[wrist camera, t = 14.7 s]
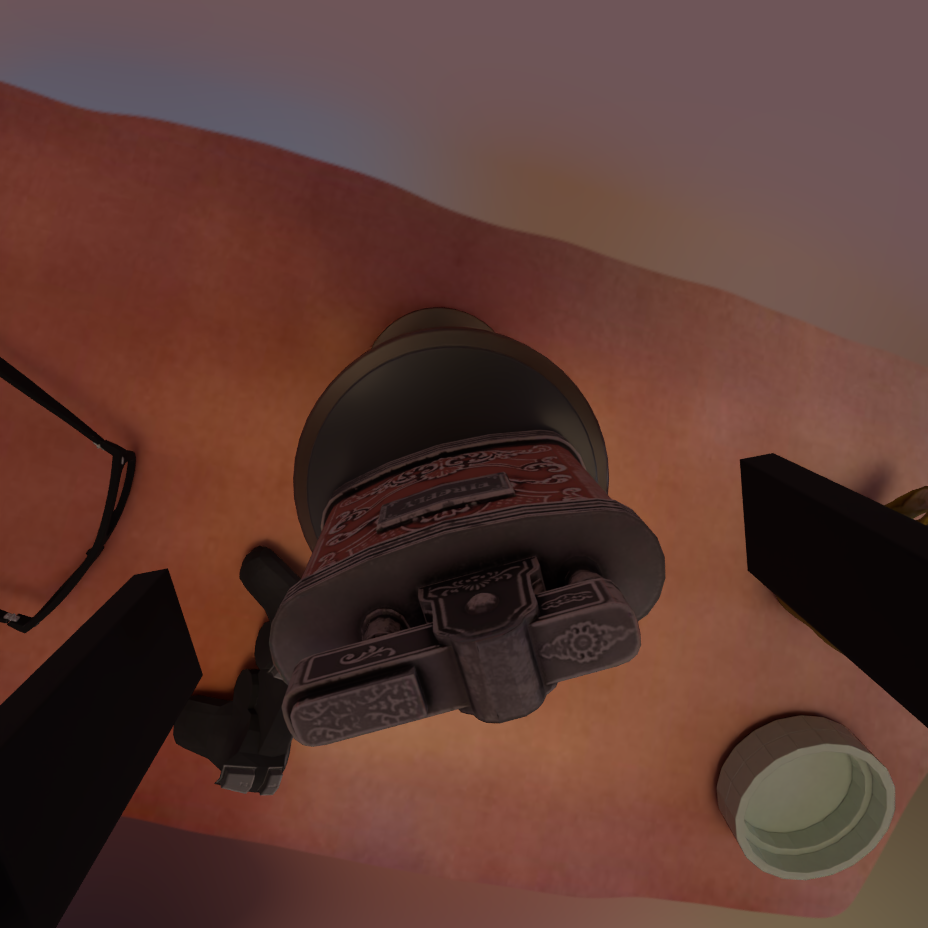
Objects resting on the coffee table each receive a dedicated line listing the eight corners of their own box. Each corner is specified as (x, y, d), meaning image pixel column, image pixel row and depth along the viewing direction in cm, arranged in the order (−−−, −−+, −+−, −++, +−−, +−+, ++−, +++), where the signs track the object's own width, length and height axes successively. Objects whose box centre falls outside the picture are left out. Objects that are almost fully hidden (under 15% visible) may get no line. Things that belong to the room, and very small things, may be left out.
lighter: (567, 409, 20) (703, 523, 10) (590, 511, 21) (736, 707, 11) (309, 480, 20) (200, 660, 10) (344, 578, 21) (273, 831, 11)
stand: (500, 294, 43) (592, 299, 19) (524, 441, 45) (631, 608, 22) (348, 322, 42) (251, 364, 19) (381, 468, 45) (331, 665, 21)
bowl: (860, 697, 52) (895, 730, 48) (863, 823, 55) (896, 863, 52) (707, 727, 52) (730, 762, 48) (719, 851, 55) (741, 893, 51)
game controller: (253, 722, 53) (284, 829, 45) (164, 721, 49) (182, 838, 41) (334, 550, 49) (384, 633, 41) (247, 534, 45) (283, 622, 37)
